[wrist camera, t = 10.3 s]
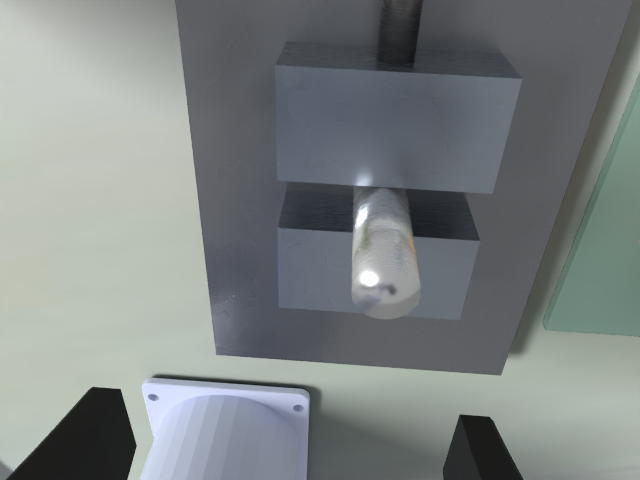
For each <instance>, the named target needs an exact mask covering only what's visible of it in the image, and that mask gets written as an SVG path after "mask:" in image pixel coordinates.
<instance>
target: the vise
mask: <svg viewBox="0 0 640 480" xmlns="http://www.w3.org/2000/svg"><path fill="white" fill-rule="evenodd" d="M175 1H176V9H177V18H178V27H179V35H180V44H181V53H182V61H183V70H184V79H185V88H186V96H187V105H188V114H189V122H190V131H191V140H192V149H193V157H194V166H195V175H196V183H197V192H198V201H199V209H200V218H201V227H202V236H203V244H204V253H205V262H206V270H207V279H208V288H209V297H210V305H211V314H212V323H213V331H214V340H215V349H216V355H226V356H240V357H254V358H268V359H282V360H295V361H309V362H323V363H337V364H350V365H364V366H378V367H392V368H406V369H419V370H433V371H447V372H461V373H474V374H488V375H501V374H502V371H503V368H504V365H505V362H506V360H507V357H508V354H509V351H510V348H511V345H512V343H513V340H514V337H515V334H516V331H517V328H518V326H519V323H520V320H521V317H522V314H523V311H524V309H525V306H526V303H527V300H528V297H529V294H530V292H531V289H532V286H533V283H534V280H535V277H536V275H537V272H538V269H539V266H540V263H541V260H542V258H543V255H544V252H545V249H546V246H547V243H548V241H549V238H550V235H551V232H552V229H553V226H554V224H555V221H556V218H557V215H558V212H559V209H560V207H561V204H562V201H563V198H564V195H565V192H566V190H567V187H568V184H569V181H570V178H571V175H572V173H573V170H574V167H575V164H576V161H577V158H578V156H579V153H580V150H581V147H582V144H583V141H584V139H585V136H586V133H587V130H588V127H589V124H590V122H591V119H592V116H593V113H594V110H595V108H596V105H597V102H598V99H599V96H600V93H601V91H602V88H603V85H604V82H605V79H606V76H607V74H608V71H609V68H610V65H611V62H612V59H613V57H614V54H615V51H616V48H617V45H618V42H619V40H620V37H621V34H622V31H623V28H624V25H625V23H626V20H627V17H628V14H629V11H630V8H631V6H632V3H633V0H175Z"/></svg>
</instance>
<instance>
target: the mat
mask: <svg viewBox="0 0 640 480" xmlns="http://www.w3.org/2000/svg"><path fill="white" fill-rule="evenodd" d="M639 241H640V73H639V76H638V78H637V81H636V83H635V86H634V89H633V91H632V94H631V96H630V99H629V101H628V104H627V107H626V109H625V112H624V114H623V117H622V119H621V122H620V125H619V127H618V130H617V132H616V135H615V137H614V140H613V143H612V145H611V148H610V150H609V153H608V155H607V158H606V161H605V163H604V166H603V168H602V171H601V174H600V176H599V179H598V181H597V184H596V186H595V189H594V192H593V194H592V197H591V199H590V202H589V204H588V207H587V210H586V212H585V215H584V217H583V220H582V222H581V225H580V228H579V230H578V233H577V235H576V238H575V240H574V243H573V246H572V248H571V251H570V253H569V256H568V258H567V261H566V264H565V266H564V269H563V271H562V274H561V277H560V279H559V282H558V284H557V287H556V289H555V292H554V295H553V297H552V300H551V302H550V305H549V307H548V310H547V313H546V315H545V318H544V320H543V326H544V328H545V330H553V331H567V332H582V333H596V334H610V335H625V336H639V337H640V242H639Z"/></svg>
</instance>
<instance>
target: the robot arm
mask: <svg viewBox="0 0 640 480" xmlns="http://www.w3.org/2000/svg"><path fill="white" fill-rule="evenodd" d="M142 392H143V396H144V400H145V404H146V408H147V412H148V416H149V420H150V424H151V428H152V432H153V436H154V441H153V444H152V447H151V450H150V452H149V455H148V458H147V461H146V463H145V466H144V469H143V472H142V474H141V477H140V480H307V457H308V431H309V404H310V395H309V393H308V392H307V391H305V390H303V389H297V388H284V387H270V386H257V385H243V384H230V383H216V382H203V381H190V380H176V379H163V378H148V379H146V380H145V381H144V383H143V385H142ZM136 446H137V445H136V442H135V438H134V435H133V431H132V428H131V424H130V421H129V417H128V414H127V410H126V407H125V403H124V400H123V396H122V393H121V389H112V388H98V387H92V388H91V389H89V390H88V391H87V392H86V394H85V395H84V396H83V397H82V398H81V399H80V400H79V401H78V402H77V404H76V405H75V406H74V407H73V408H72V409H71V410H70V411H69V413H68V414H67V415H66V416H65V417H64V418H63V419H62V420H61V421H60V423H59V424H58V425H57V426H56V427H55V428H54V429H53V430H52V431H51V432H50V433H49V435H48V436H47V437H46V438H45V439H44V440H43V441H42V442H41V443H40V444H39V445H38V446H37V448H36V449H35V450H34V451H33V452H32V453H31V454H30V455H29V456H28V457H27V458H26V459H25V460H24V461H23V462H22V463H21V464H20V465H19V466H18V467H17V468H16V469H15V471H14V472H13V473H12V474H11V475H10V476H9V477H8V478H7V479H6V480H127V478H128V475H129V472H130V468H131V464H132V461H133V457H134V454H135V450H136ZM443 478H444V480H523V478H522V476H521V474H520V472H519V471H518V469H517V467H516V465H515V463H514V461H513V459H512V457H511V456H510V454H509V452H508V450H507V448H506V446H505V444H504V442H503V440H502V438H501V436H500V434H499V432H498V430H497V428H496V426H495V424H494V422H493V420H492V419H491V418H490V417H485V416H471V415H460V416H459V419H458V422H457V425H456V429H455V432H454V435H453V439H452V442H451V445H450V448H449V452H448V455H447V458H446V462H445V465H444V468H443Z"/></svg>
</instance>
